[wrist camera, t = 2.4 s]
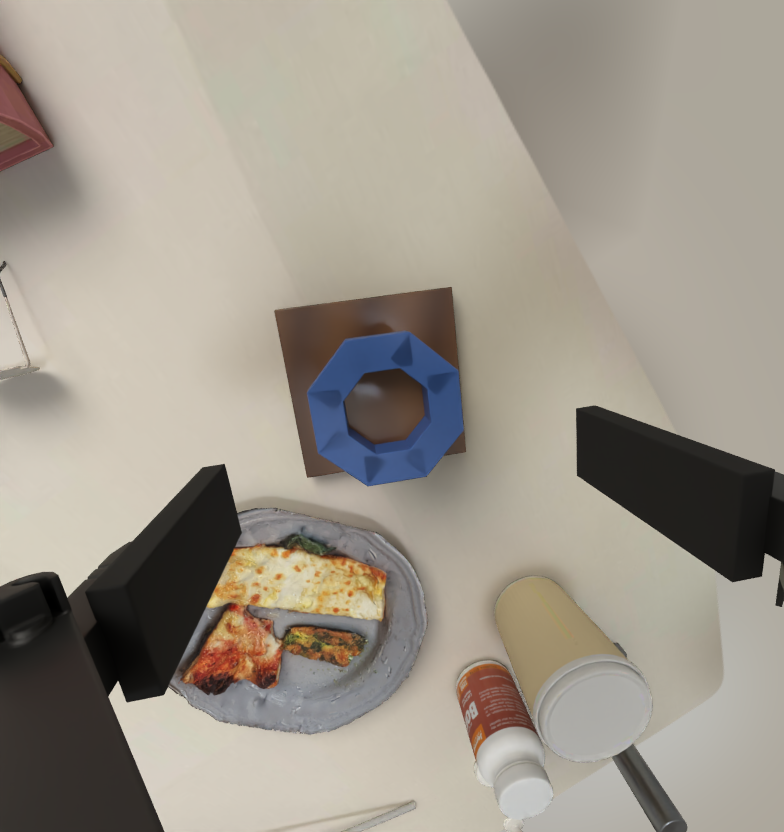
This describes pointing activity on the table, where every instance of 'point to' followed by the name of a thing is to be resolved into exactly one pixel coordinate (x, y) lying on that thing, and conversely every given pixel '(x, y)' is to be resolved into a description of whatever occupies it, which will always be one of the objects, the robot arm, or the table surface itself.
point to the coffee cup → (571, 673)
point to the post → (648, 789)
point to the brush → (382, 818)
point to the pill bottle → (504, 740)
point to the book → (17, 121)
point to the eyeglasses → (26, 369)
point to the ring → (391, 457)
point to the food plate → (303, 626)
